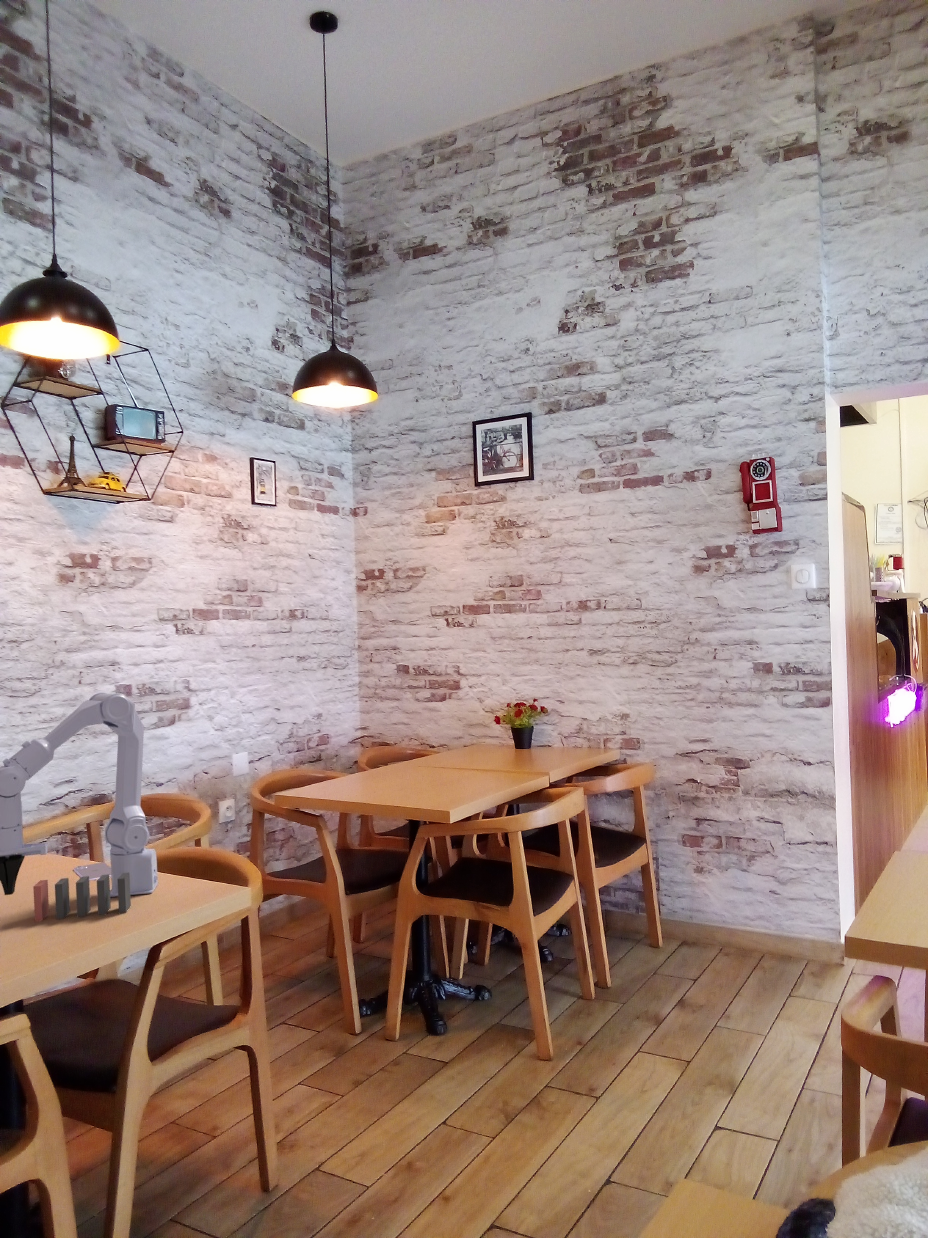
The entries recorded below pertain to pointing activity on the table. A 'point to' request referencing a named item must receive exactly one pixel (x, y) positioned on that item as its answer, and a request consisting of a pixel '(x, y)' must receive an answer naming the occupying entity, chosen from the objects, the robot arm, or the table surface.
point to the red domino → (41, 900)
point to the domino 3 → (103, 894)
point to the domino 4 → (124, 892)
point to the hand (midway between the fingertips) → (9, 893)
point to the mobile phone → (93, 870)
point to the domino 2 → (83, 896)
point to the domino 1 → (62, 898)
